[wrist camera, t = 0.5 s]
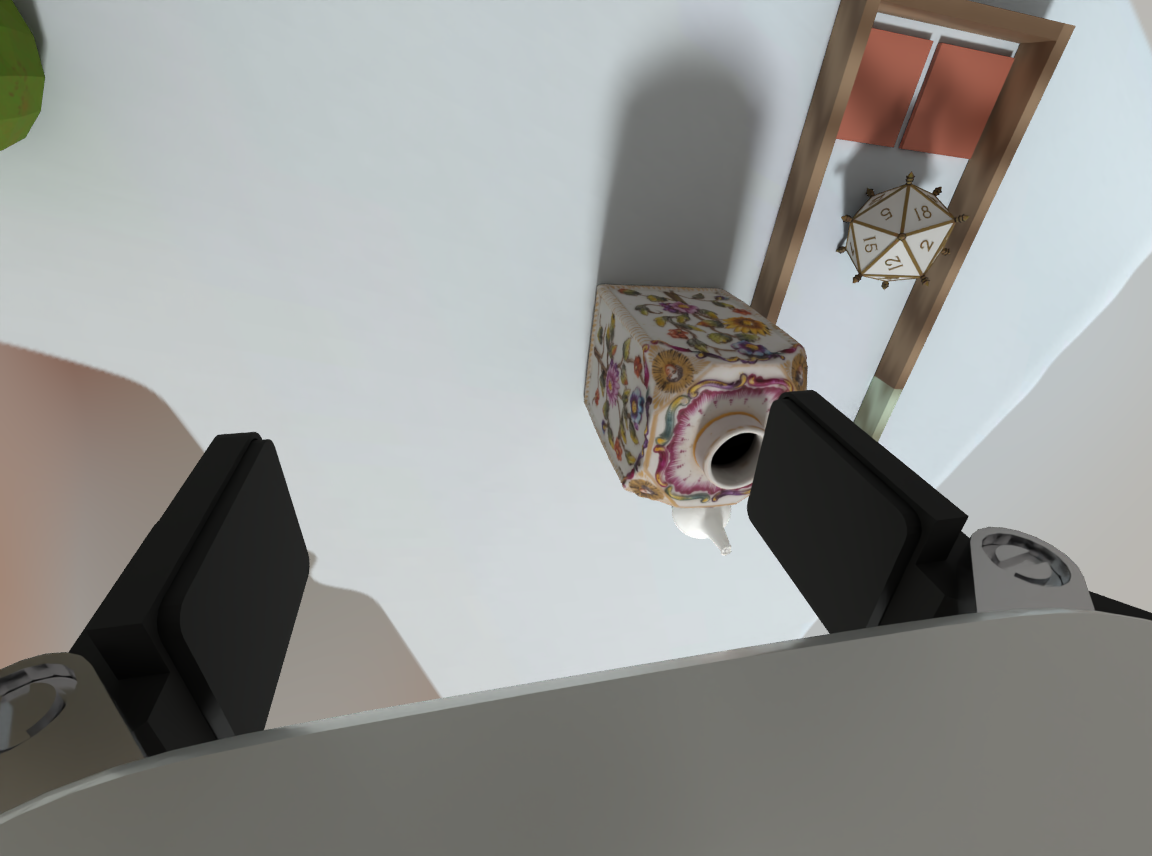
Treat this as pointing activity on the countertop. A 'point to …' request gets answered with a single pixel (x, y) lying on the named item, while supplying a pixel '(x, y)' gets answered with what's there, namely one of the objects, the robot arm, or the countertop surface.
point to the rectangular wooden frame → (914, 142)
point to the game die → (899, 233)
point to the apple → (18, 76)
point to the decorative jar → (685, 389)
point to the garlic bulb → (705, 524)
